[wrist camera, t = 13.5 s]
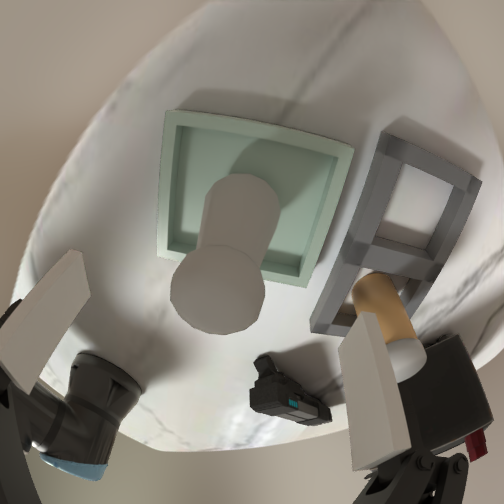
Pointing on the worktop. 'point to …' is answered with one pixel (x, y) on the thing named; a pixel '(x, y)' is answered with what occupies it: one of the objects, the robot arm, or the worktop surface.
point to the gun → (285, 397)
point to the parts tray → (260, 165)
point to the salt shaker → (227, 257)
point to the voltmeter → (450, 400)
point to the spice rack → (393, 255)
